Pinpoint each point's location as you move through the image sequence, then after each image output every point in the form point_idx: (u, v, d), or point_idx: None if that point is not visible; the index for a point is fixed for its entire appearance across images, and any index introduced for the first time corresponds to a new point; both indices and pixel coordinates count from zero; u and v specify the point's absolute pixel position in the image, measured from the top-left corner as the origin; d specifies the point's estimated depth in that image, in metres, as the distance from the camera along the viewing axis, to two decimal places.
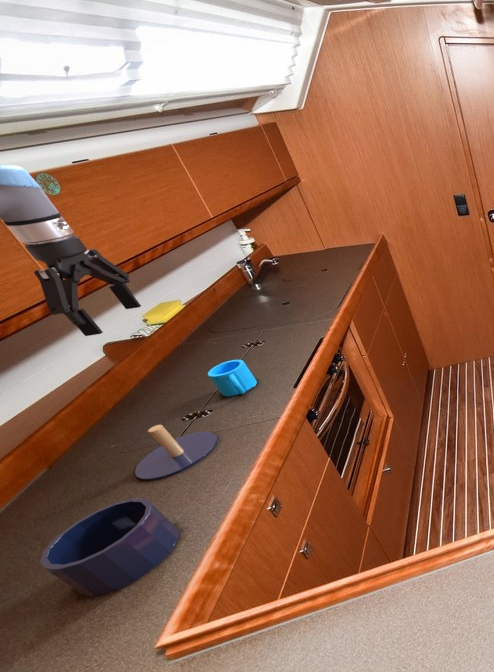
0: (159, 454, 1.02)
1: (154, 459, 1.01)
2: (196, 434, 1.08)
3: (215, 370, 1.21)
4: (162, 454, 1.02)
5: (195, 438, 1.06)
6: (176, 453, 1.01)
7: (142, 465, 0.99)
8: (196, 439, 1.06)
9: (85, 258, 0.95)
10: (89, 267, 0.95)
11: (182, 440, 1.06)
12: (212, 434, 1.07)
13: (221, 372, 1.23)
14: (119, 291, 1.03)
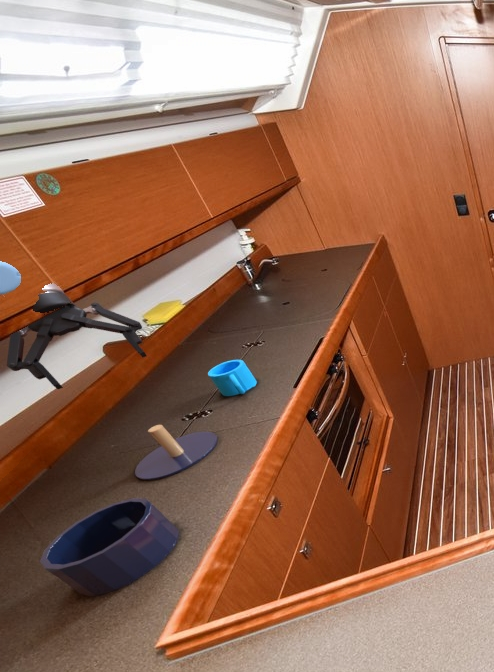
0: (159, 454, 1.02)
1: (154, 459, 1.01)
2: (196, 434, 1.08)
3: (215, 370, 1.21)
4: (162, 454, 1.02)
5: (195, 438, 1.06)
6: (176, 453, 1.01)
7: (142, 465, 0.99)
8: (196, 439, 1.06)
9: (74, 312, 0.97)
10: (72, 320, 0.96)
11: (182, 440, 1.06)
12: (212, 434, 1.07)
13: (221, 372, 1.23)
14: (127, 340, 1.00)
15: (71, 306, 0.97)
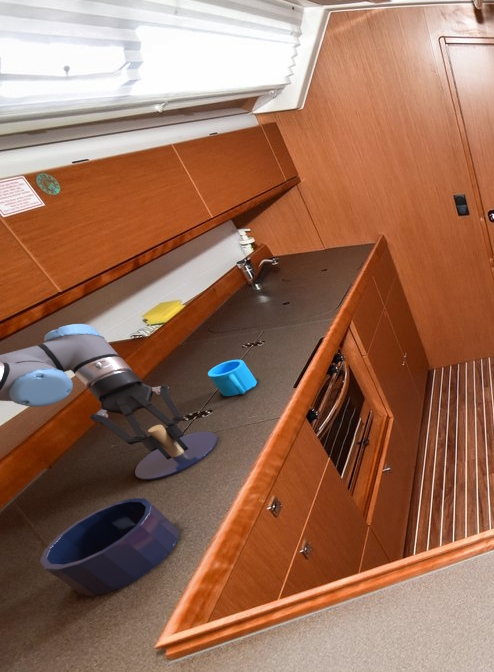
0: (159, 454, 1.02)
1: (154, 459, 1.01)
2: (196, 434, 1.08)
3: (215, 370, 1.21)
4: (162, 454, 1.02)
5: (195, 438, 1.06)
6: (176, 453, 1.01)
7: (142, 465, 0.99)
8: (196, 439, 1.06)
9: (142, 389, 1.00)
10: (136, 400, 0.98)
11: (182, 440, 1.06)
12: (212, 434, 1.07)
13: (221, 372, 1.23)
14: (170, 434, 1.00)
15: (139, 383, 1.00)
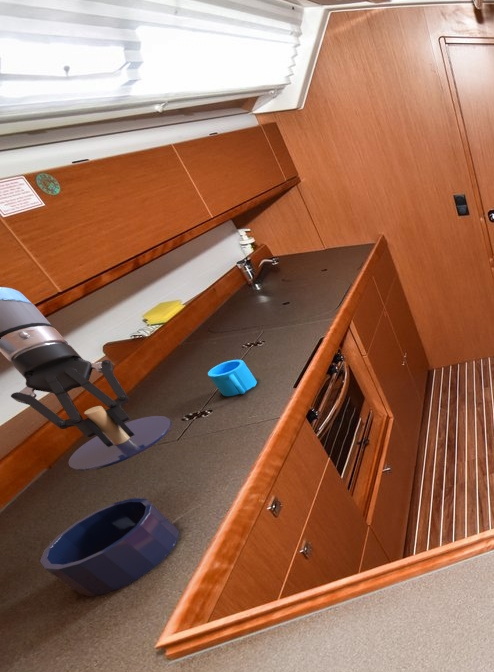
0: (100, 441, 0.87)
1: (93, 447, 0.86)
2: (147, 419, 0.93)
3: (215, 370, 1.21)
4: None
5: (145, 423, 0.92)
6: (119, 439, 0.86)
7: (78, 454, 0.84)
8: (146, 424, 0.91)
9: (79, 365, 0.85)
10: (71, 377, 0.83)
11: (129, 426, 0.91)
12: (165, 419, 0.93)
13: (221, 372, 1.23)
14: (112, 417, 0.85)
15: (76, 358, 0.85)
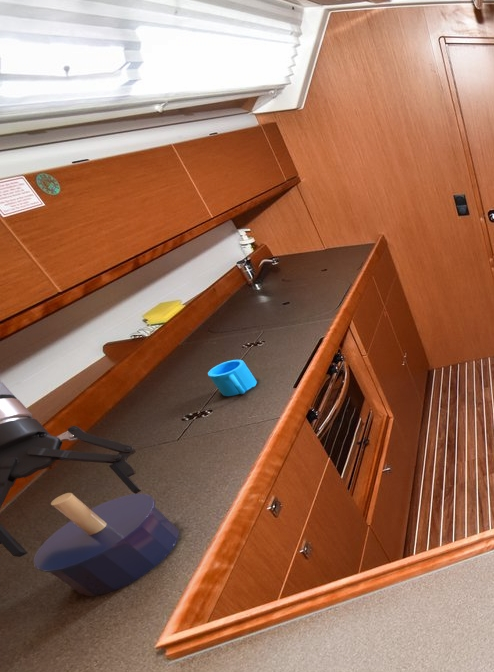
0: (72, 530, 0.76)
1: (64, 538, 0.74)
2: (127, 498, 0.81)
3: (215, 370, 1.21)
4: (76, 530, 0.76)
5: (125, 504, 0.80)
6: (94, 529, 0.75)
7: (46, 548, 0.73)
8: (126, 506, 0.80)
9: (46, 443, 0.73)
10: (42, 455, 0.72)
11: (107, 508, 0.79)
12: (149, 498, 0.81)
13: (221, 372, 1.23)
14: None
15: (41, 434, 0.73)
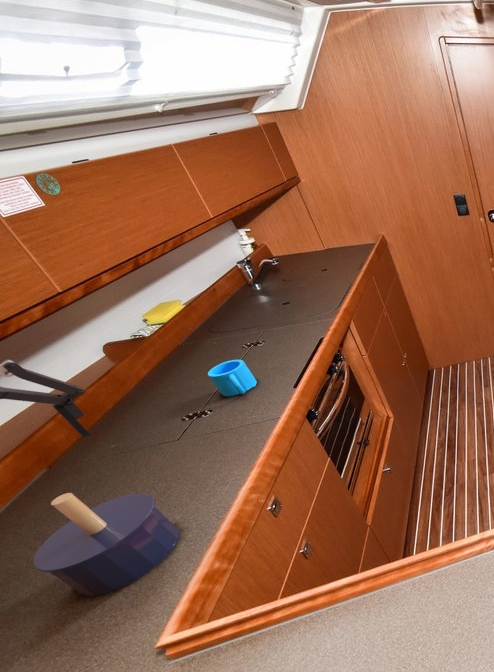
0: (72, 530, 0.76)
1: (64, 538, 0.74)
2: (127, 498, 0.81)
3: (215, 370, 1.21)
4: (76, 530, 0.76)
5: (125, 504, 0.80)
6: (94, 529, 0.75)
7: (46, 548, 0.73)
8: (126, 506, 0.80)
9: None
10: None
11: (107, 508, 0.79)
12: (149, 498, 0.81)
13: (221, 372, 1.23)
14: None
15: None
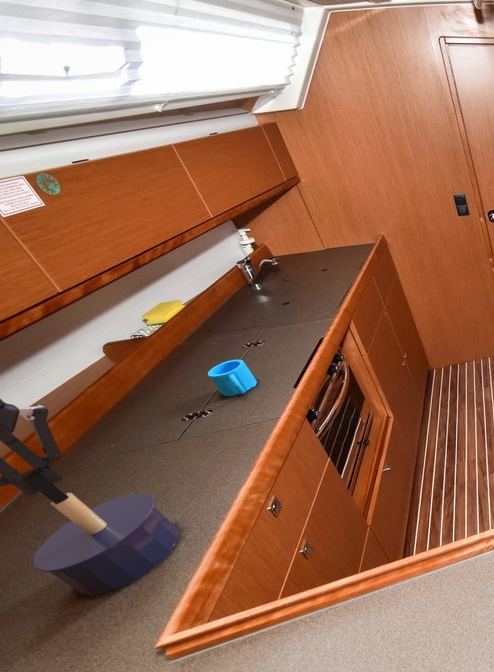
0: (72, 530, 0.76)
1: (64, 538, 0.74)
2: (127, 498, 0.81)
3: (215, 370, 1.21)
4: (76, 530, 0.76)
5: (125, 504, 0.80)
6: (94, 529, 0.75)
7: (46, 548, 0.73)
8: (126, 506, 0.80)
9: (3, 415, 0.64)
10: None
11: (107, 508, 0.79)
12: (149, 498, 0.81)
13: (221, 372, 1.23)
14: None
15: None
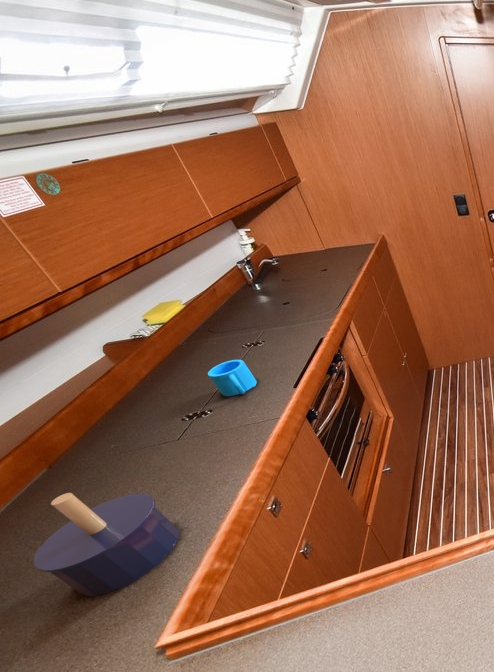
0: (72, 530, 0.76)
1: (64, 538, 0.74)
2: (127, 498, 0.81)
3: (215, 370, 1.21)
4: (76, 530, 0.76)
5: (125, 504, 0.80)
6: (94, 529, 0.75)
7: (46, 548, 0.73)
8: (126, 506, 0.80)
9: None
10: None
11: (107, 508, 0.79)
12: (149, 498, 0.81)
13: (221, 372, 1.23)
14: None
15: None
